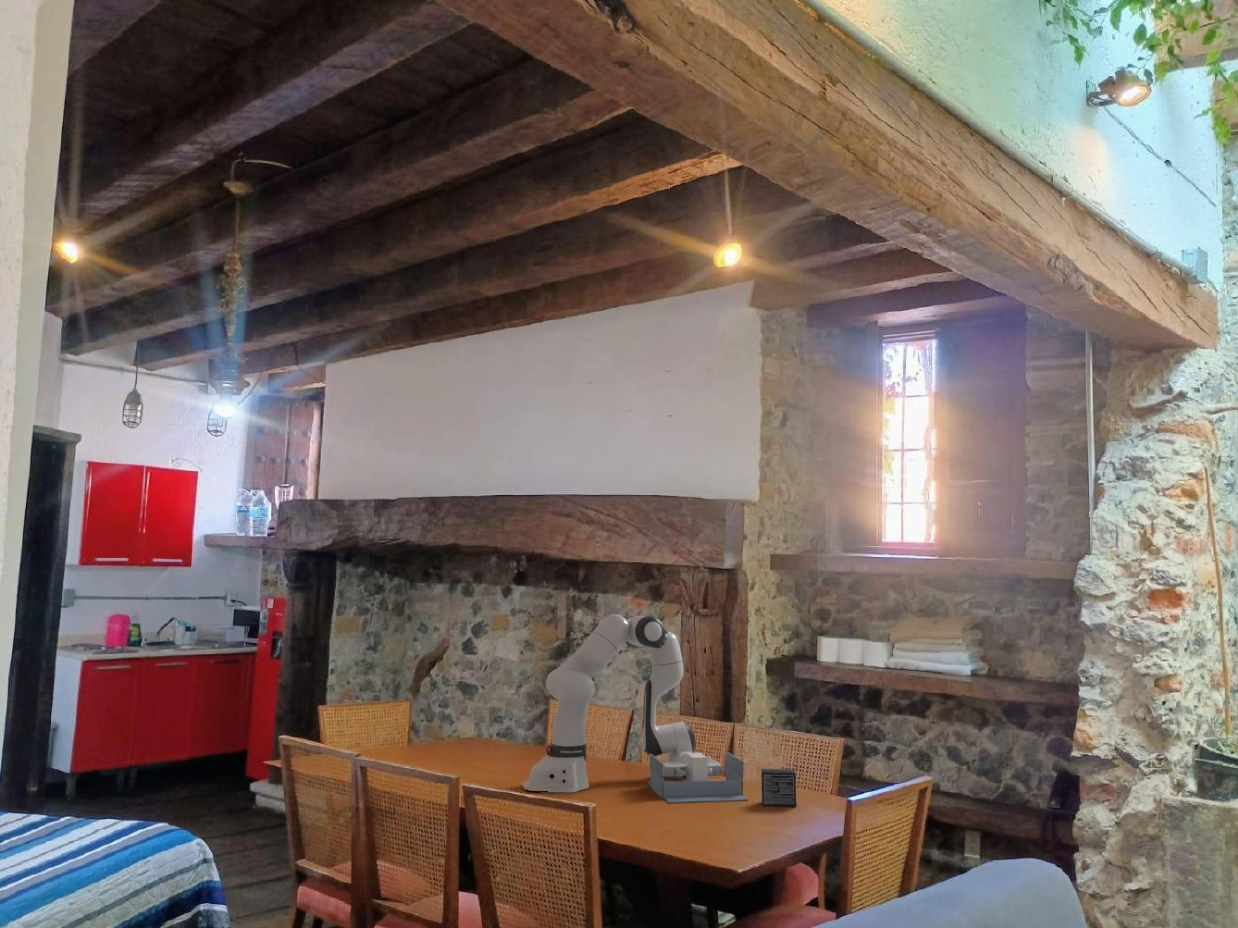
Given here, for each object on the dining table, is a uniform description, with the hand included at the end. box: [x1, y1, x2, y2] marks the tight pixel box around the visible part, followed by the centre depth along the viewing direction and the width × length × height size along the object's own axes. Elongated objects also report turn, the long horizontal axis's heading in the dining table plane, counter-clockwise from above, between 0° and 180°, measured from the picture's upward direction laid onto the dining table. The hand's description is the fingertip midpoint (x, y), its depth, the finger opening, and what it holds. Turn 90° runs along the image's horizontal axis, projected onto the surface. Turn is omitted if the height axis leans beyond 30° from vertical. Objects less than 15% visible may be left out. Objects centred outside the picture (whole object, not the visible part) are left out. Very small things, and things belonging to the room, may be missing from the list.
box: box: [686, 752, 709, 781], centre depth 320 cm, size 5×9×12 cm, turn 11°
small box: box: [760, 768, 798, 808], centre depth 303 cm, size 11×6×10 cm, turn 84°
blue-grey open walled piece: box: [646, 751, 749, 804], centre depth 322 cm, size 28×32×11 cm
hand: (697, 773), depth 319 cm, fingers open, 8 cm apart
